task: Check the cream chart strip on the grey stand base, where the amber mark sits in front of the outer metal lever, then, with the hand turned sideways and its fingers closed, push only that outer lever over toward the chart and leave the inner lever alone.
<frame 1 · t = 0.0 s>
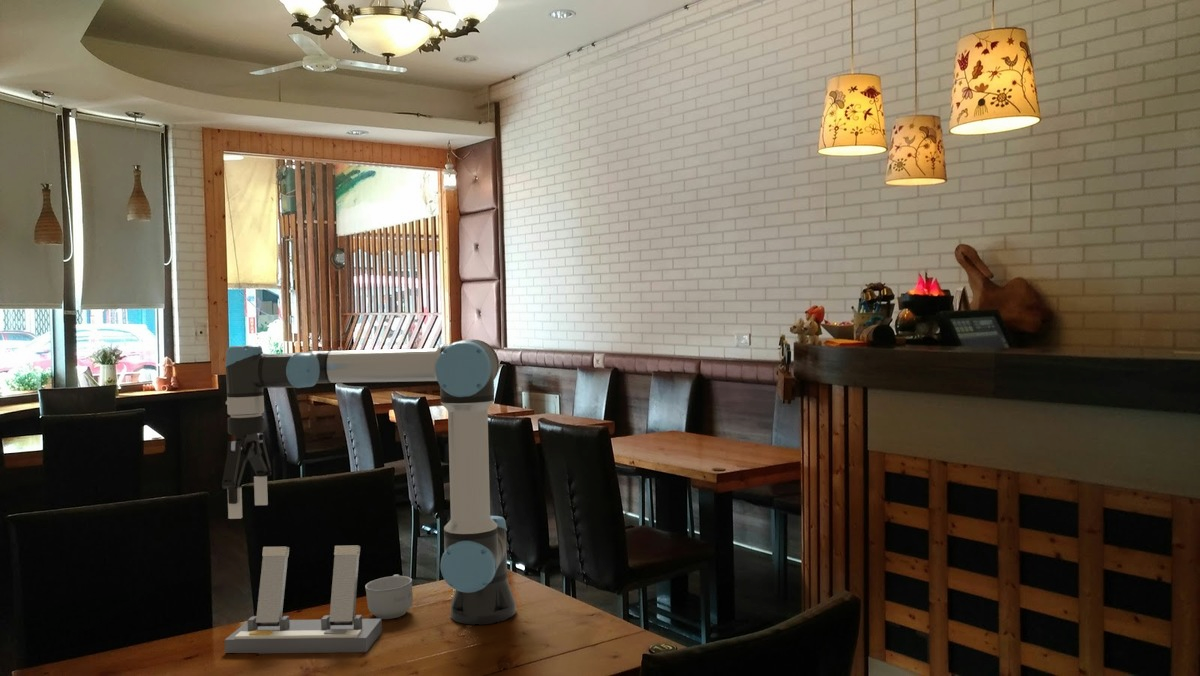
hand: (248, 511, 196), 28 cm above the table, tool pointing down, fingers open, 13 cm apart
grey stand base: (305, 642, 193), on the table
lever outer: (272, 586, 196), point 12 cm above the table, hinge at 20.0°
lever inner: (344, 585, 195), point 12 cm above the table, hinge at 20.0°
teacup: (392, 613, 212), on the table
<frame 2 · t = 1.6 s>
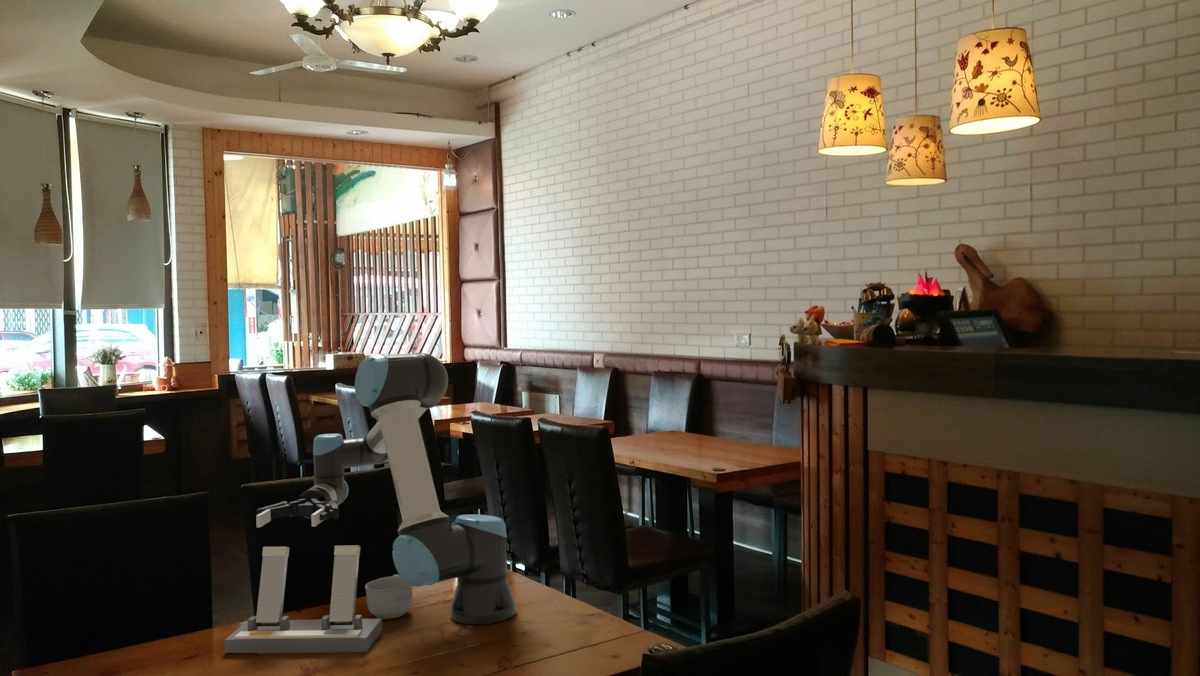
hand: (285, 521, 204), 24 cm above the table, tool horizontal, fingers open, 12 cm apart
nothing on the table moved.
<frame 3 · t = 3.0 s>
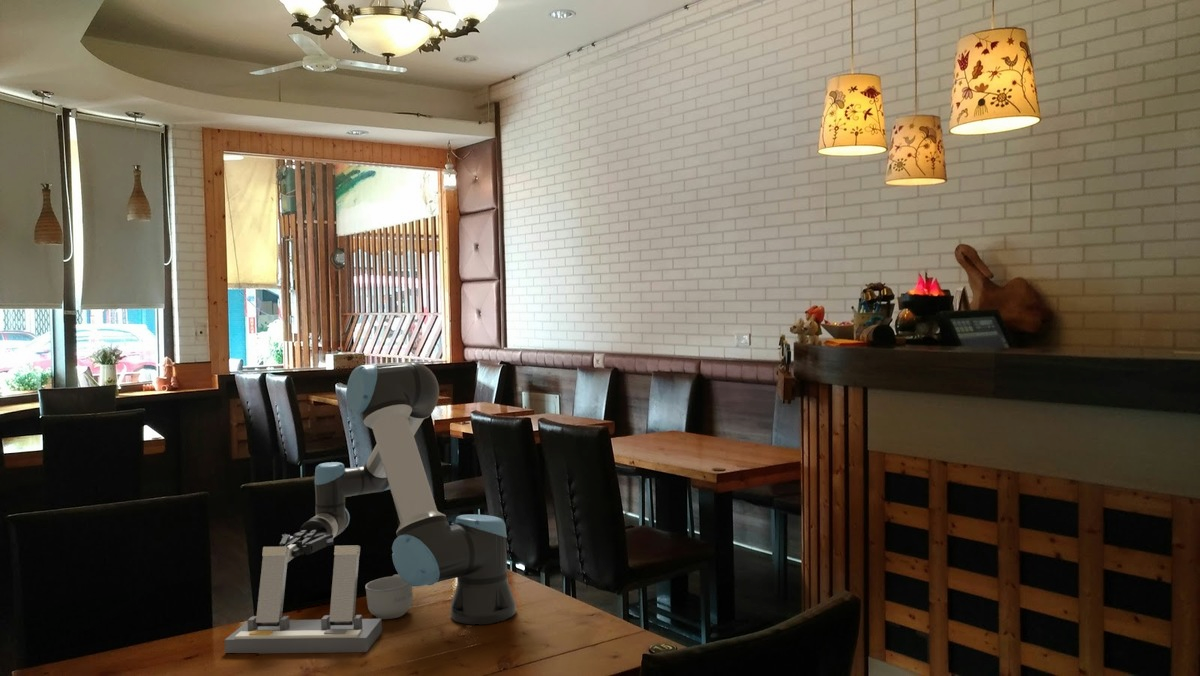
hand: (282, 557, 203), 16 cm above the table, tool horizontal, fingers closed
nothing on the table moved.
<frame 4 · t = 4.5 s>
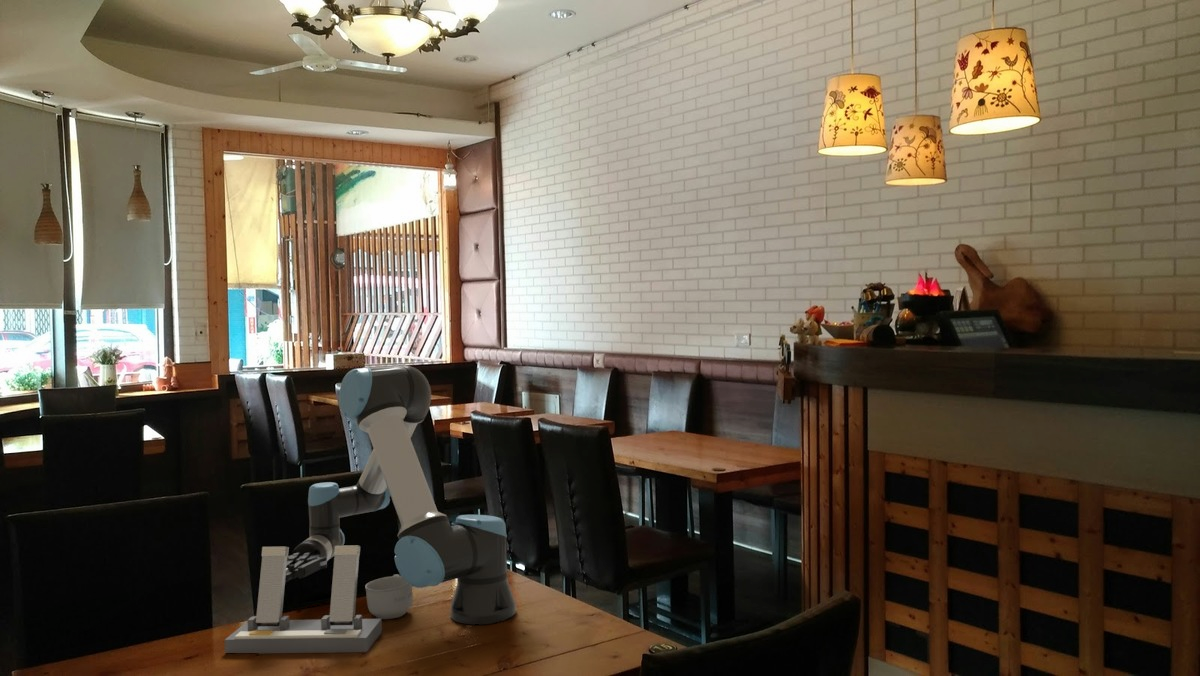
hand: (274, 582, 197), 12 cm above the table, tool horizontal, fingers closed
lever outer: (272, 586, 195), point 12 cm above the table, hinge at 18.5°, touching gripper
everything else where it was.
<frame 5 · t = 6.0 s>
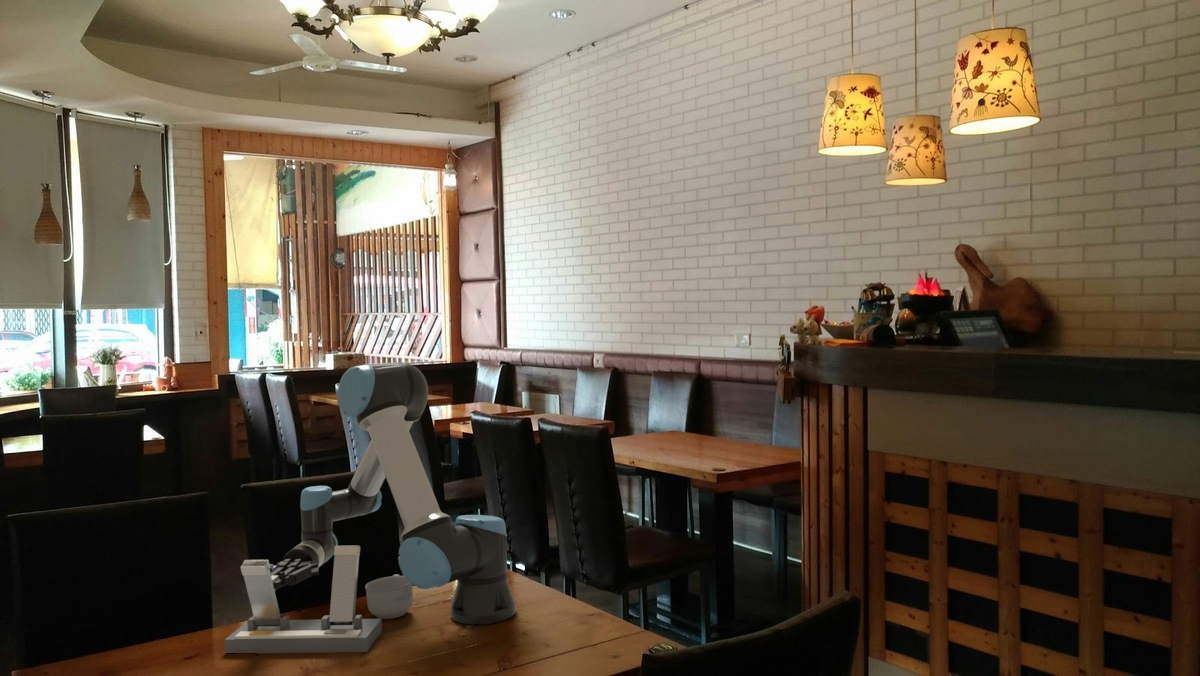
hand: (263, 590, 191), 12 cm above the table, tool horizontal, fingers closed
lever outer: (262, 595, 190), point 11 cm above the table, hinge at -23.6°, touching gripper
everything else where it was.
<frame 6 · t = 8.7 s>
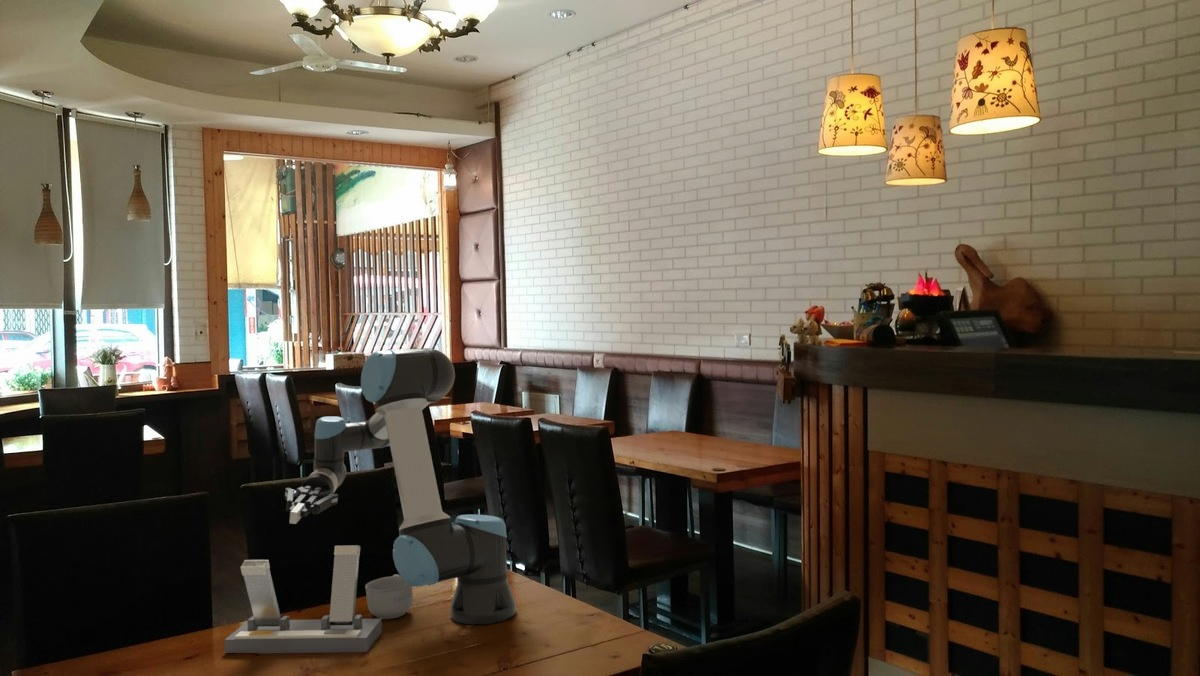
hand: (293, 517, 202), 25 cm above the table, tool horizontal, fingers closed
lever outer: (262, 595, 190), point 11 cm above the table, hinge at -23.7°
everything else where it was.
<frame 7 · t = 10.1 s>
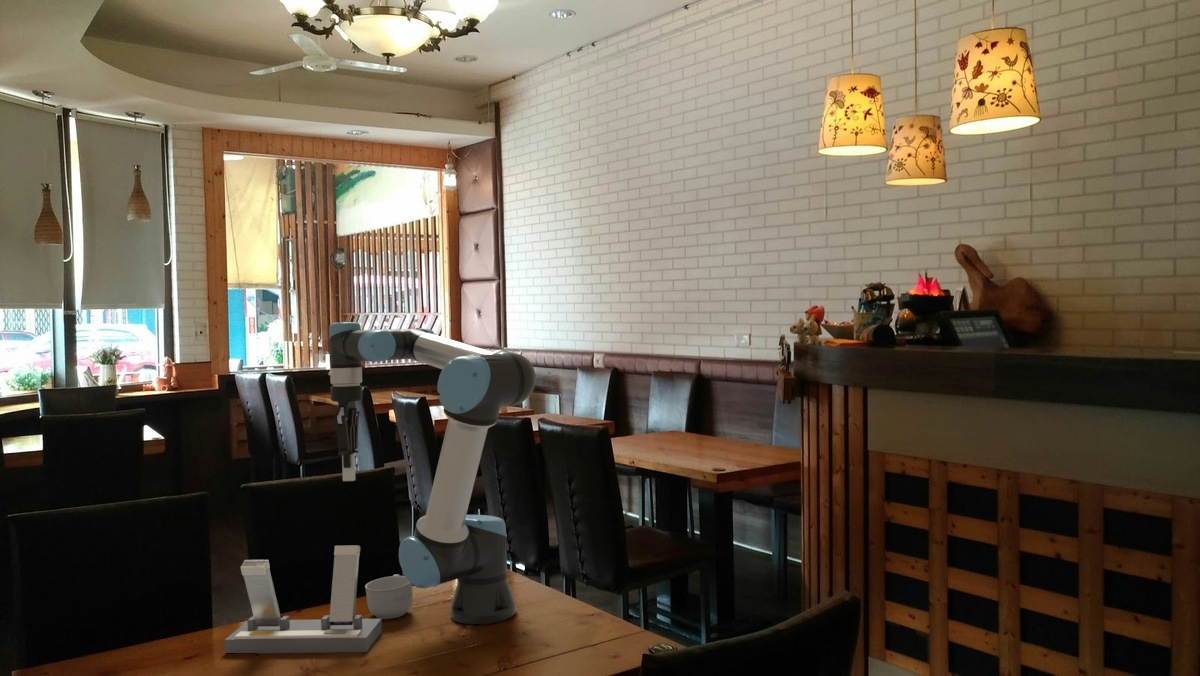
hand: (349, 480, 219), 30 cm above the table, tool pointing down, fingers closed
nothing on the table moved.
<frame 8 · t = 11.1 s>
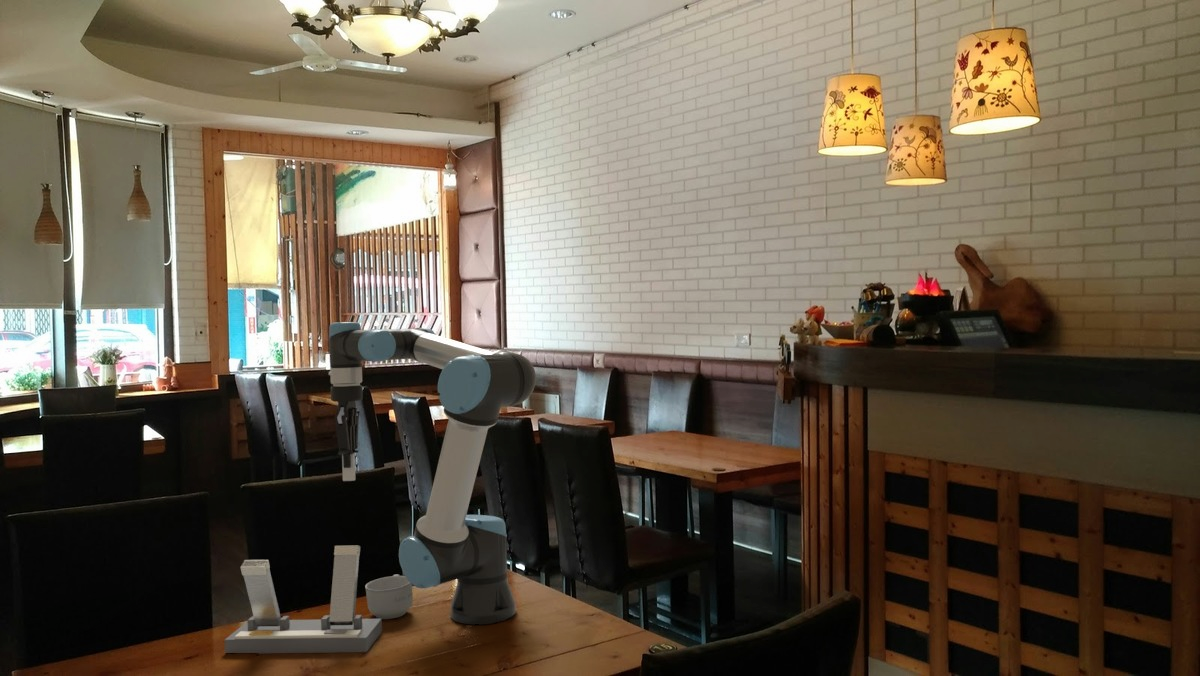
hand: (349, 480, 219), 30 cm above the table, tool pointing down, fingers closed
nothing on the table moved.
at the end: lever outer at -24° (first picture: +20°); lever inner at +20° (first picture: +20°); teacup moved 0.3 cm from its start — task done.
